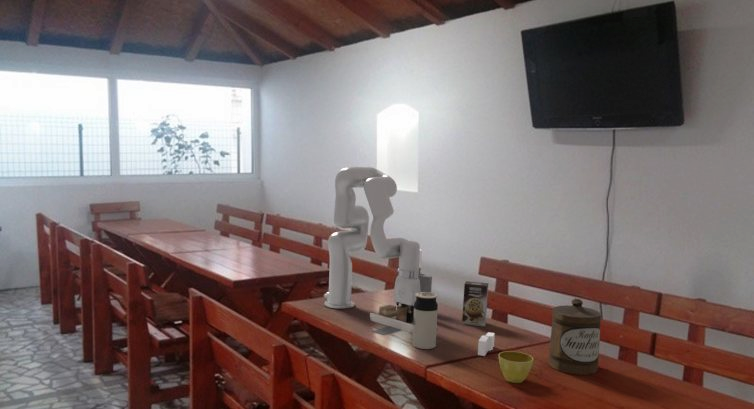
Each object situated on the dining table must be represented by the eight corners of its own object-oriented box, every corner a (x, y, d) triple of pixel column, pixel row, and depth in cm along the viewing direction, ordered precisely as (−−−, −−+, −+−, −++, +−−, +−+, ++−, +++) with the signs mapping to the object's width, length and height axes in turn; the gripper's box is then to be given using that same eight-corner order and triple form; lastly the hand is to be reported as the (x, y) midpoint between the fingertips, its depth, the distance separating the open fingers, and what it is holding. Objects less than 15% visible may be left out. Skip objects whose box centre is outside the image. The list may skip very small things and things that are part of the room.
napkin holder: (482, 360, 202) (483, 343, 202) (459, 350, 212) (460, 333, 211) (515, 354, 210) (516, 337, 210) (492, 344, 220) (493, 328, 219)
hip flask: (431, 319, 247) (433, 270, 246) (423, 321, 245) (426, 271, 243) (406, 310, 260) (408, 263, 258) (398, 311, 258) (400, 264, 256)
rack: (369, 320, 242) (370, 313, 242) (390, 315, 251) (390, 308, 251) (412, 333, 227) (413, 325, 227) (433, 328, 236) (433, 320, 235)
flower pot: (526, 374, 189) (528, 351, 189) (536, 386, 179) (537, 362, 178) (493, 373, 189) (495, 350, 188) (501, 386, 179) (502, 361, 178)
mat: (371, 332, 227) (371, 331, 227) (389, 327, 234) (389, 326, 234) (382, 335, 223) (383, 334, 223) (401, 330, 230) (401, 329, 230)
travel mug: (437, 344, 216) (440, 293, 214) (433, 350, 208) (435, 298, 207) (415, 341, 218) (417, 290, 216) (410, 348, 210) (412, 295, 209)
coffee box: (461, 324, 242) (463, 283, 241) (463, 320, 249) (465, 280, 247) (485, 326, 240) (487, 285, 239) (486, 322, 247) (488, 282, 245)
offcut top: (379, 313, 243) (379, 306, 243) (389, 310, 248) (389, 304, 248) (385, 315, 241) (385, 308, 241) (395, 312, 245) (396, 306, 245)
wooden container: (565, 376, 189) (570, 305, 187) (539, 360, 203) (544, 294, 201) (607, 373, 193) (612, 303, 191) (579, 358, 207) (583, 292, 205)
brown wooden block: (395, 325, 235) (396, 306, 235) (409, 321, 241) (410, 303, 241) (401, 326, 233) (402, 308, 233) (415, 323, 239) (416, 305, 238)
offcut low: (376, 320, 243) (376, 313, 242) (390, 316, 248) (390, 310, 248) (382, 322, 240) (382, 315, 240) (396, 318, 246) (396, 312, 246)
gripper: (386, 271, 238) (383, 318, 240) (418, 278, 227) (415, 328, 229) (399, 269, 244) (396, 315, 245) (431, 276, 233) (428, 324, 234)
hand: (406, 320), depth 237 cm, fingers closed on brown wooden block, 3 cm apart
